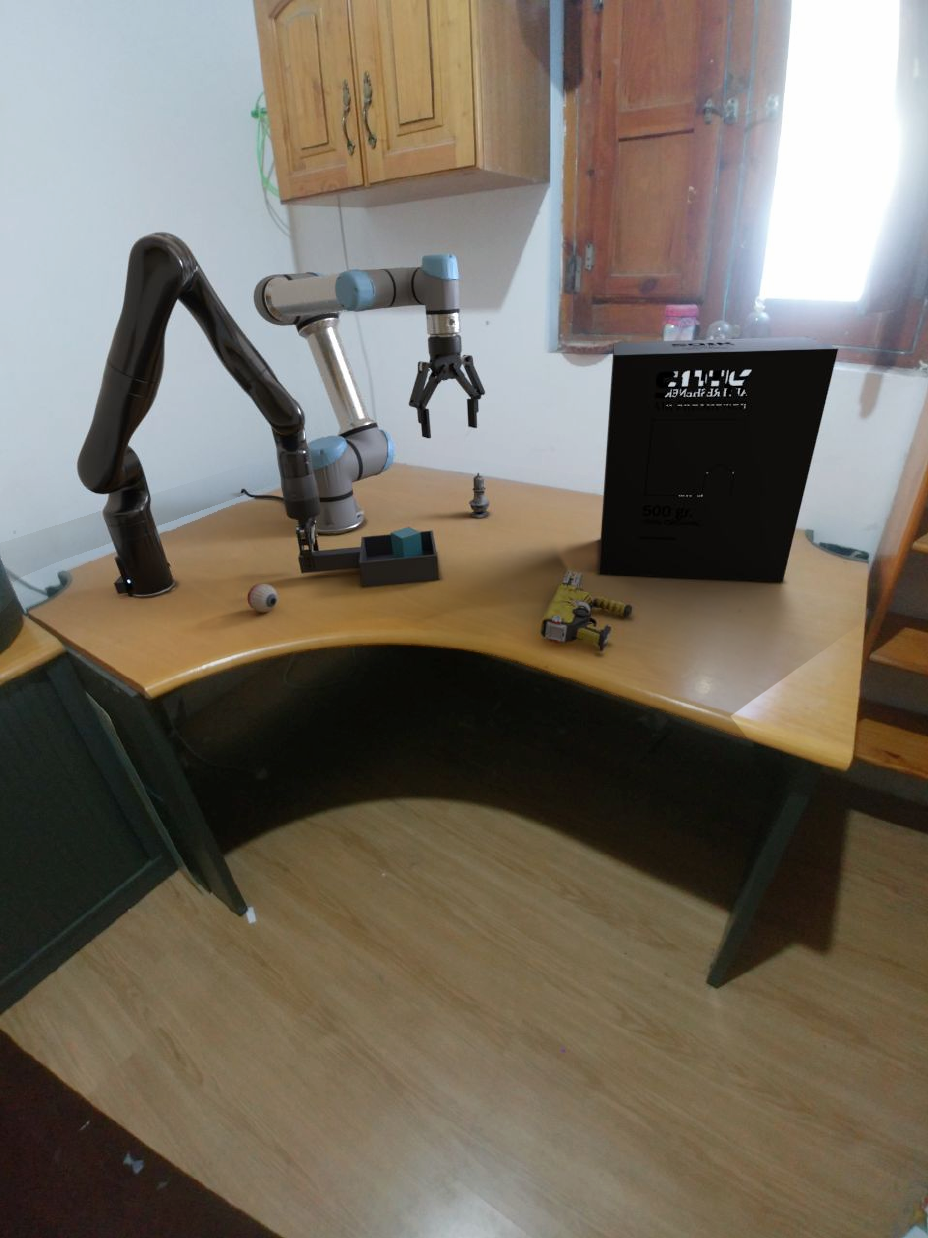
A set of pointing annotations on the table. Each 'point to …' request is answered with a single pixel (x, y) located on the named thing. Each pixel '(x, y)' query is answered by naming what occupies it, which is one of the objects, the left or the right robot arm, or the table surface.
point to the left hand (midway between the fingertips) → (313, 561)
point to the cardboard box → (710, 455)
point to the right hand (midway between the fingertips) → (450, 432)
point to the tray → (380, 561)
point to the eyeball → (262, 597)
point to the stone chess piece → (479, 498)
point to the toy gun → (578, 614)
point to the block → (406, 543)
